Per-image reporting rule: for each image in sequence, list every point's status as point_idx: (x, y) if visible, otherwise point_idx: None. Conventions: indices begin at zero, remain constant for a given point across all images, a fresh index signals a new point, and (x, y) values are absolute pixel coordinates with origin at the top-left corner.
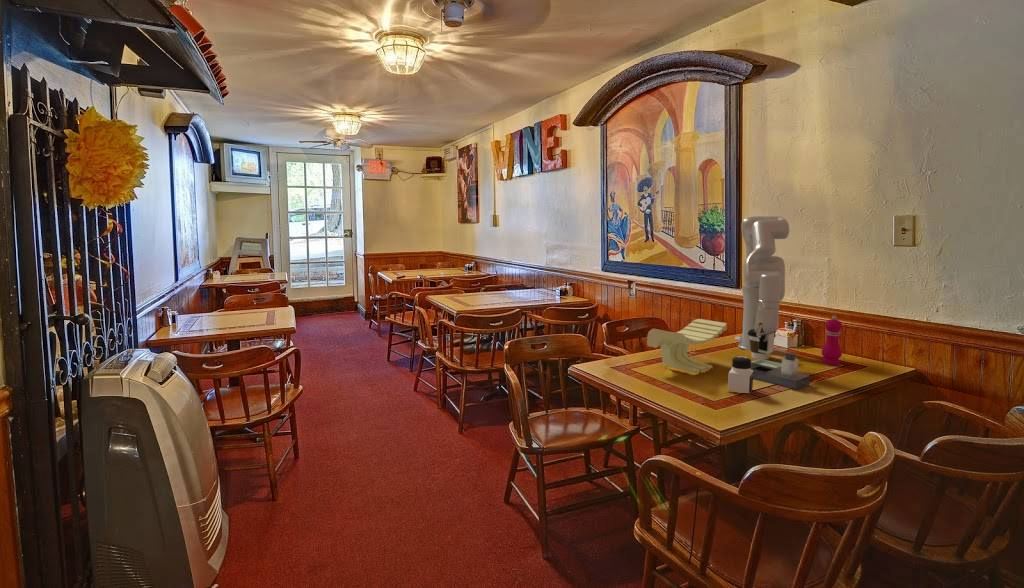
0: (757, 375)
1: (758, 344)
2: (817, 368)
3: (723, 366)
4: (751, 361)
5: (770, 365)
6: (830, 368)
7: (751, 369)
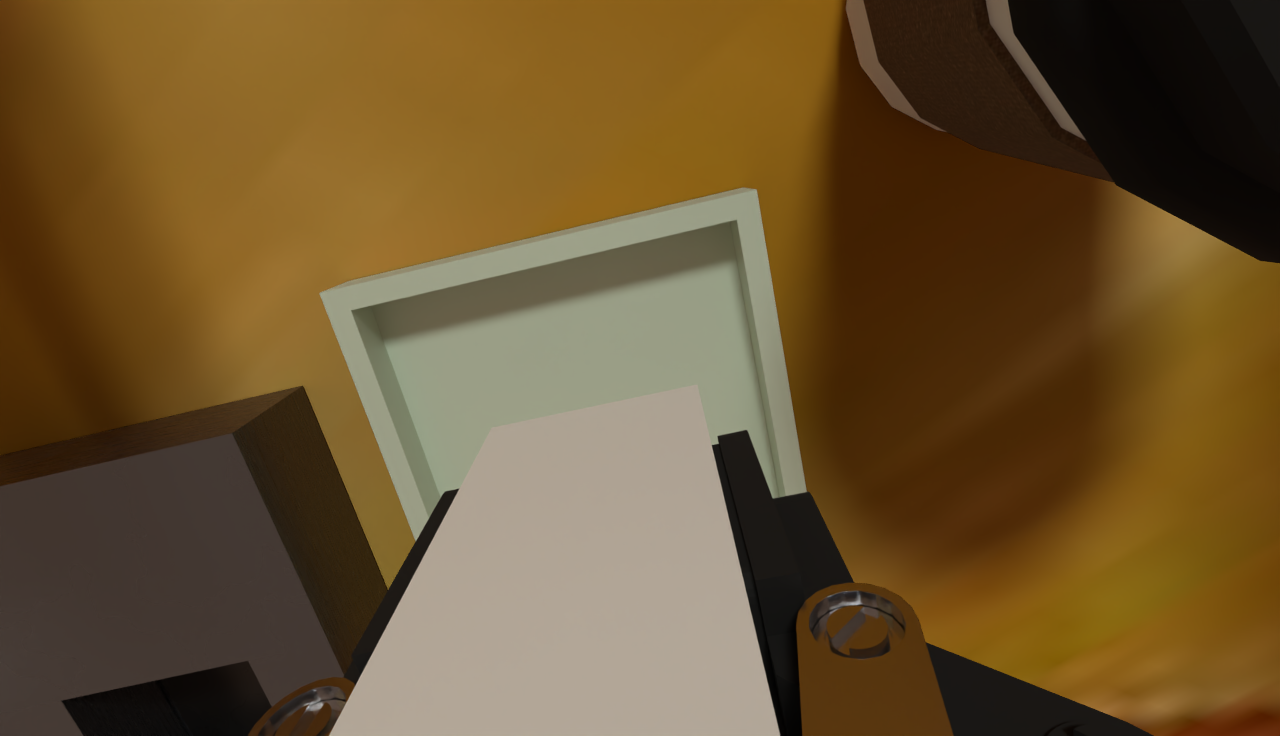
0: None
1: (942, 27)
2: (1113, 651)
3: (81, 68)
4: (502, 250)
5: (708, 406)
6: (1220, 699)
7: (27, 720)
